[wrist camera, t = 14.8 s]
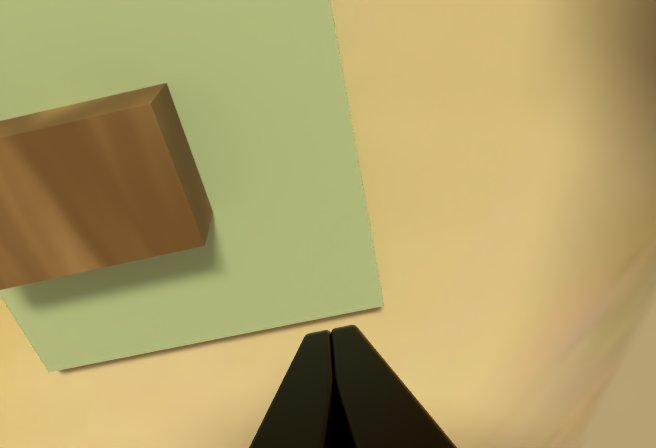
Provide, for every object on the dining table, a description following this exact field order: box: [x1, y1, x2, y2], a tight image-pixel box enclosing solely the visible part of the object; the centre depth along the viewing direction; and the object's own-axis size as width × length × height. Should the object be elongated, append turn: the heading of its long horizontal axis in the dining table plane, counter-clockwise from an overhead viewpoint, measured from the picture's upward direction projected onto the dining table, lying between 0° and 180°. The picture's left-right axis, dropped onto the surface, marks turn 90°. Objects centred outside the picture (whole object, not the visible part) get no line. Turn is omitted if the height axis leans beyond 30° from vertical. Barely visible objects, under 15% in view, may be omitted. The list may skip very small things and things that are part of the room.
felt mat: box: [0, 0, 384, 372], centre depth 19 cm, size 15×17×1 cm
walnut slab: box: [0, 83, 213, 290], centre depth 18 cm, size 2×5×8 cm
